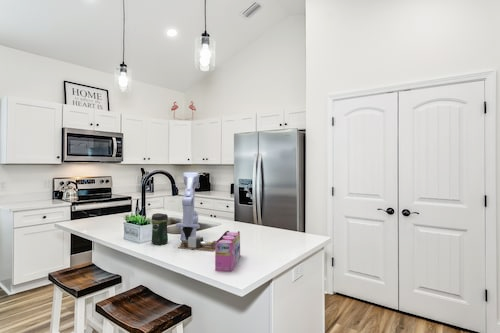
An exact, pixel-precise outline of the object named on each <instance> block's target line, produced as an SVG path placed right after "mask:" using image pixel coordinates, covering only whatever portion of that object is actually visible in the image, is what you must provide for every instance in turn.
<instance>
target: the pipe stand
mask: <svg viewBox="0 0 500 333" xmlns="http://www.w3.org/2000/svg"><path fill="white" fill-rule="evenodd" d="M216 241H217V240H213V241H211V242H212V246H202V247H200V248H197V247H196V248H192V247H188V244H185V243H182V241H181V242H180V246H178V247H177V249H180V250H191V251H192V250H193V251H203V252H215V242H216Z"/></svg>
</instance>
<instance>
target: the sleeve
mask: <svg viewBox="0 0 500 333" xmlns="http://www.w3.org/2000/svg"><path fill="white" fill-rule="evenodd" d="M199 238H201V237H200V235H196V236H194V235H192V236H190V237H188V247H192V248H196V247H197V239H199Z"/></svg>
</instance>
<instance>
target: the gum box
mask: <svg viewBox="0 0 500 333" xmlns="http://www.w3.org/2000/svg"><path fill="white" fill-rule="evenodd" d="M215 241H216V242H215V250H214V252H215V254H214V255H215V257H214V258H215V260H214V263H215V264H214V266H215V267H214V269H215V270H214V271H217V272H218V271H219V272H232V271H233V269H234V267H235V265H236V263H237V262H238V261H239V259H240V257H241V232H240V231H237V232H236V231H229V230H226V231H225V232H224V233H223V234H222V235H221V236H220V237H219V238H218V239H217V240H215Z"/></svg>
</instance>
